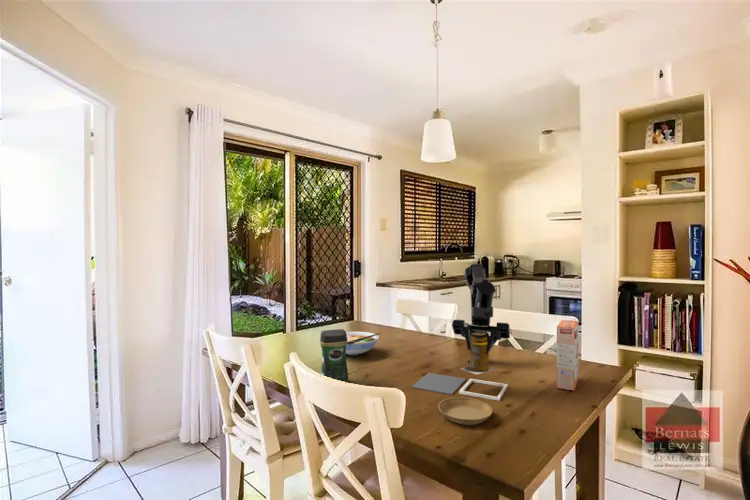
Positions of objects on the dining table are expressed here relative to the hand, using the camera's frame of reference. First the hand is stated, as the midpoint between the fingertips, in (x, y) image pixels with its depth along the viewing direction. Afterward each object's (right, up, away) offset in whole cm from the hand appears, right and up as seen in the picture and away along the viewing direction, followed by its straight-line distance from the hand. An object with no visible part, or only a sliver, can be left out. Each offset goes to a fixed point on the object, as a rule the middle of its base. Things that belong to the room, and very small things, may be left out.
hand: (478, 350), depth 127 cm
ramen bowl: (-43, -13, +46) cm, 65 cm away
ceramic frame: (+2, -13, 0) cm, 13 cm away
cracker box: (+32, -13, +5) cm, 35 cm away
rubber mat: (-12, -13, +7) cm, 19 cm away
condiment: (0, -7, +2) cm, 7 cm away
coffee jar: (-48, -14, +9) cm, 51 cm away
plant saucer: (-9, -14, -19) cm, 25 cm away
